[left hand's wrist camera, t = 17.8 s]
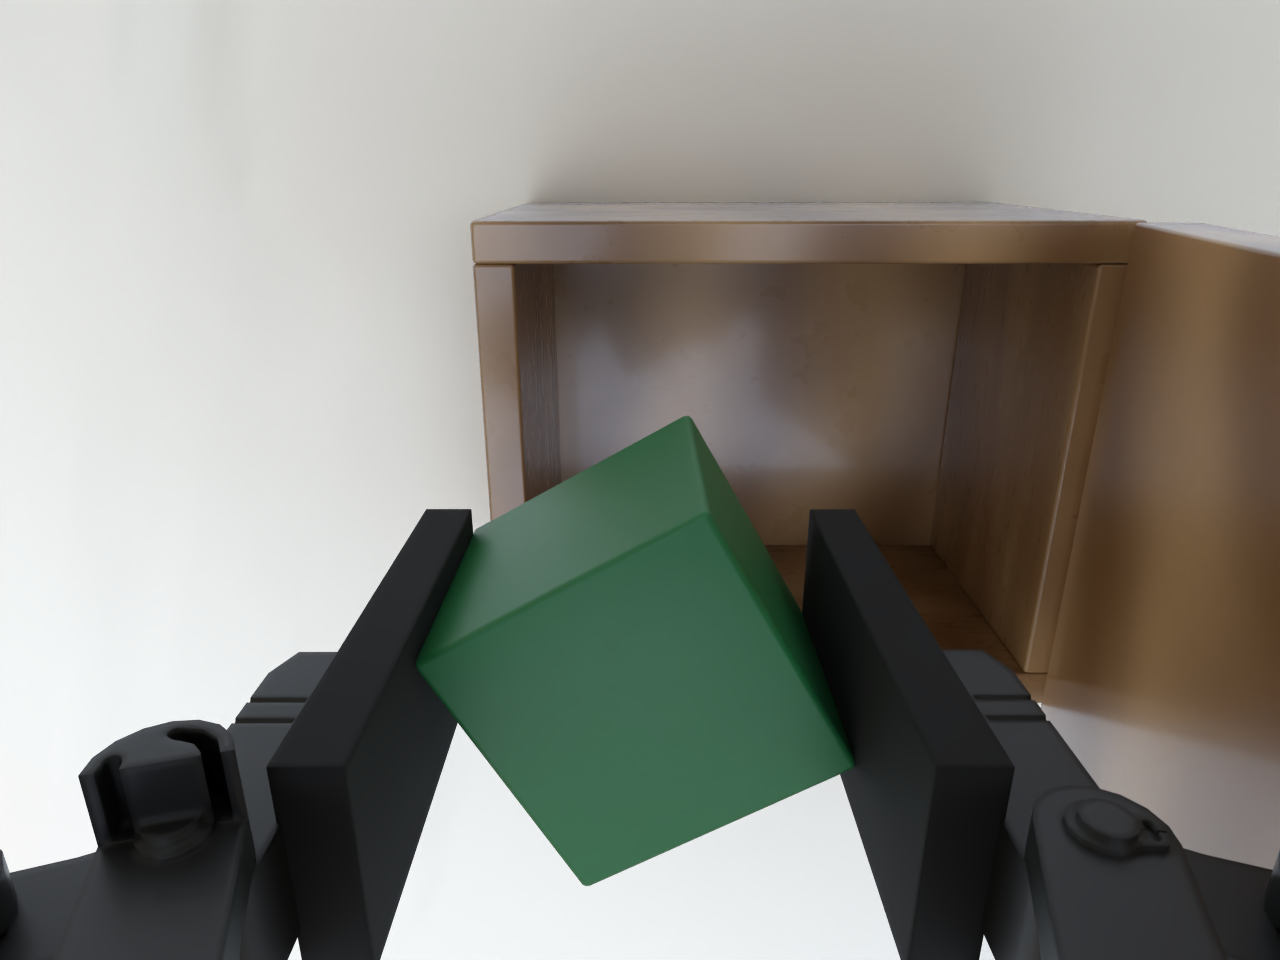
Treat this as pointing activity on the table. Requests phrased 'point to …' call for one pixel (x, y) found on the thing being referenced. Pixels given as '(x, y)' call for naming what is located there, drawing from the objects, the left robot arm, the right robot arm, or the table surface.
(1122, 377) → the lid
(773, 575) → the block
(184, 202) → the table surface
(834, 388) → the chest
